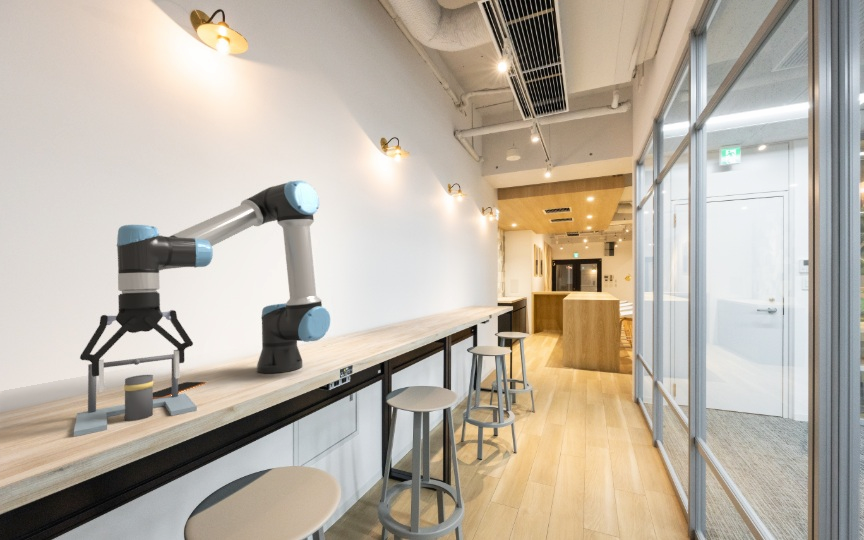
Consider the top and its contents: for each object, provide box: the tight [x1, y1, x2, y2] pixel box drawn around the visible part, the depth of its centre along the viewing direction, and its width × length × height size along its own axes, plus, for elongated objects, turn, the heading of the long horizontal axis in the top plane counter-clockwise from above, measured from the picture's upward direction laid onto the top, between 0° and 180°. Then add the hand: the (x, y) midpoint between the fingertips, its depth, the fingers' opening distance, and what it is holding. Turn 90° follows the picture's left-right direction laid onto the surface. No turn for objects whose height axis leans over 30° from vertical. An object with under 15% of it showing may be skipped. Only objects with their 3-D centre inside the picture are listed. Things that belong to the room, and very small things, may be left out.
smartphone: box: [153, 381, 207, 399], centre depth 106 cm, size 8×17×1 cm, turn 173°
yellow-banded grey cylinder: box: [124, 374, 154, 422], centre depth 84 cm, size 5×5×9 cm
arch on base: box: [73, 353, 198, 437], centre depth 86 cm, size 21×16×12 cm
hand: (141, 383), depth 85 cm, fingers open, 13 cm apart
